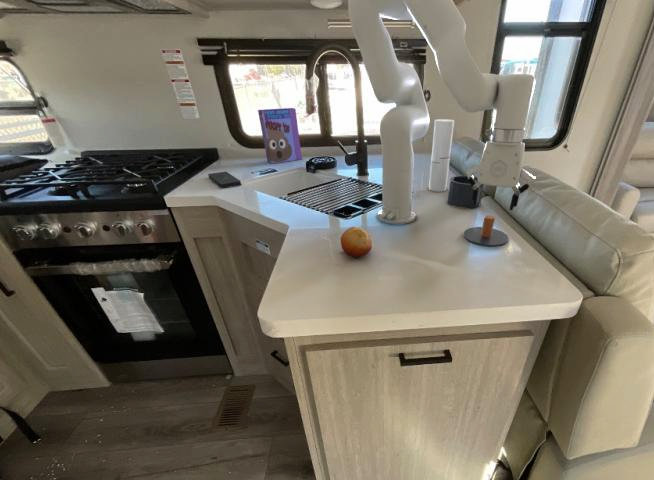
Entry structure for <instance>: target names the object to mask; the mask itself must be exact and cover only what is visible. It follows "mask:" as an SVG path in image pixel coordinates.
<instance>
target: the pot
mask: <svg viewBox="0 0 654 480" xmlns="http://www.w3.org/2000/svg"><path fill="white" fill-rule="evenodd" d="M473 177H474V178H475V180H476V181H477V182H478V180H477V178H478V176H474V175H473ZM448 186H449V188H448V196H447V204H448V205H449V206H451V207H452V206H453V207H458V208H463V209H469V210H473V209H477V208H479V207H480V206H481V201H482V196H483V192H484V186H485V185H484V184H481V185H480V187H481V192H480V198H479V202H478V203H477V204H476V205H474V200H472V198H473V191H474V189H473V187H472V186H471V184H470V183H469V181H468V177H467V175H455V176H452V177H450V179H449V185H448Z"/></svg>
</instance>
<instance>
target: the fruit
mask: <svg viewBox="0 0 654 480" xmlns="http://www.w3.org/2000/svg"><path fill="white" fill-rule="evenodd" d="M340 246H341V249H342V252H341V254H345V255H346V256H348V257H351V258H353V259H359V258H362V257H363V256H365V255H367V254H368V253H369V252H370V251H371V250H372V247H373V241H372V238H371V234H370V233H369V232H367V231H366V230H365V229H364V228H361V227H356V226H352V227H348V228H347V229H346V230H345V231H344V232H343V233H342V234H341V235H340Z"/></svg>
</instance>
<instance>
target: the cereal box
mask: <svg viewBox="0 0 654 480" xmlns="http://www.w3.org/2000/svg"><path fill="white" fill-rule="evenodd" d="M257 113H258V118H259V124H260V129H261V133H262V140H263V145H264V151H265V155H266V156H265V157H266V161H267V164H270V165H276V164H281V163H288V162H295V161H302V160H303V157H302V149H301V141H300V133H299V126H298V118H297V109H296V108H294V107H285V108H283V107H282V108H269V109H267V108H265V109H257Z"/></svg>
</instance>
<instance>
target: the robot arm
mask: <svg viewBox="0 0 654 480" xmlns="http://www.w3.org/2000/svg"><path fill="white" fill-rule="evenodd" d="M347 11H348V17H349V22H350V26H351V30H352V33H353V35H354V38H355V40H356V44H357V46H358V49H359V52H360V55H361V58H362V61H363V65H364V68H365V71H366V75H367V78H368V82H369V84H370V88H371V91H372V95H373V96H374V98H375V99H376V101H378V102H379V103H381V104H394V105H395V106H394V107H391V108H389V109H388V110H386V111H385V112H384V113H383V115H382V116H381V118H380V120H379V137H380V143H381V155H382V158H381V159H382V161H381V162H382V165H381V169H382V175H381V177H382V179H381V181H382V185H381V187H382V190H381V191H382V193H381V194H382V196H381V197H382V199H381V205H382V206H381V210H379V211H378V212H377V215H376V219H377V220H378V221H380V222H383V223H386V224H390V225H391V224H392V225H405V224H409V223H411V222H413V221H415V220H416V216H417V215H416V213H415V211H413V210H412V207H413V189H414V173H415V171H414V170H415V154H414V153H415V152H414V147H413V142H415V141H419V140H420V139H422V138H424V137H425V135H426V134H427V133H428V131H429V128H430V114H429V109H428V105H427V102H426V99H425V98H426V97H425V95H424V91H423V86H422V84H421V83H422V82H421V79H420V77H419V75H418V72H417V71H416V69H415V68H414V67H413V66H412V65H410V64H409V63H406V62H403V61H402V62H401V61H399V60H398V58H397V54H396V52H395V48H394V44H393V42H392V38H391V35H390V33H389V31H388V29H387V27H386V26H385V23H384V22H383V19H382V18H386V19H391V20H396V21H414V23H415V24H416V25H417V27H418V28H419V31H420V32H421V34H422V35H423V37H424V38H425V40H426V42H427V43H428V45H429V47H430V48H431V50H432V52H433V54H434V59H435V62H436V63H435V64H436V65H437V69H438V73H439V75H440V78H441V80H442V82H443V84H444V86H445V87H446V89H447V91H448V92H449V93H450V95H451V97H452V99H453V100H454V102H455V103H456V104H457V106H458V107H459V108H460V109H461V110H462V111H465V112H466V113H470V114H471V113H477V112H478V113H479V112H483V111H488V110H494V114H493V120H492V127H491V128H489V129H485V131H484V136H486V137H489V140H487V141H486V142H485V145H484V148H483V151H482V155H481V160H480V163H479V165H476V166H473V167H471V168H468V169H467V170H466V171H465V174H466V176H467V177H468V181H469V183H470V184H471V186H472V187H473V189H474V191H473V198H472V200H474V205H476V204H477V203H478V202H479V198H480V192H481V187H480V185H481V184H484V186H492V187H499V188H508V189H509V188H510V189H512V191H513V194H512V196H511V201H510V205H509V210H510V211H513V210H514V209H515V208H516V207H518V203H519V199H520V195H521V194H523V193H524V192H525V191H527V190H528V189H529V188H530V187H531V186H532V184H533V183H534V182H535V180H536V176H534V175H533V174H532V173H530V172H529V171H527V170H525V169H524V168H523V165H524V159H525V149H526V147H525V144H526V143H525V142H524V141H523V140H524V136H525V131H526V126H527V122H528V118H529V112H530V107H531V103H532V98H533V94H534V91H535V85H536V78H535V76H534V75H532V74H528V73H513V74H510V73H509V74H506V75H505V74H504V75H501V74H496V73H490V72H489V73H486V72H482V71H481V70H480V68H479V66H478V65H477V64H476V62H475V60H474V59H473V57H472V54H471V53H470V51H469V49H468V46H467V43H466V37H465V35H466V30H467V24H466V21H465V20H464V18H463V15H462V14H461V12H460V11H459V9H458V8H457V5H456V4H455V2H454V1H453V0H348V1H347ZM475 173H477V177H478V178H477V180H478V182H477V181H476V180H475V178H474V177H475V176H474V174H475ZM473 176H474V177H473ZM521 177H522V178H524V179H525V180H526V182H525V184H523V185H520V183H519V182H520V180H521Z"/></svg>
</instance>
